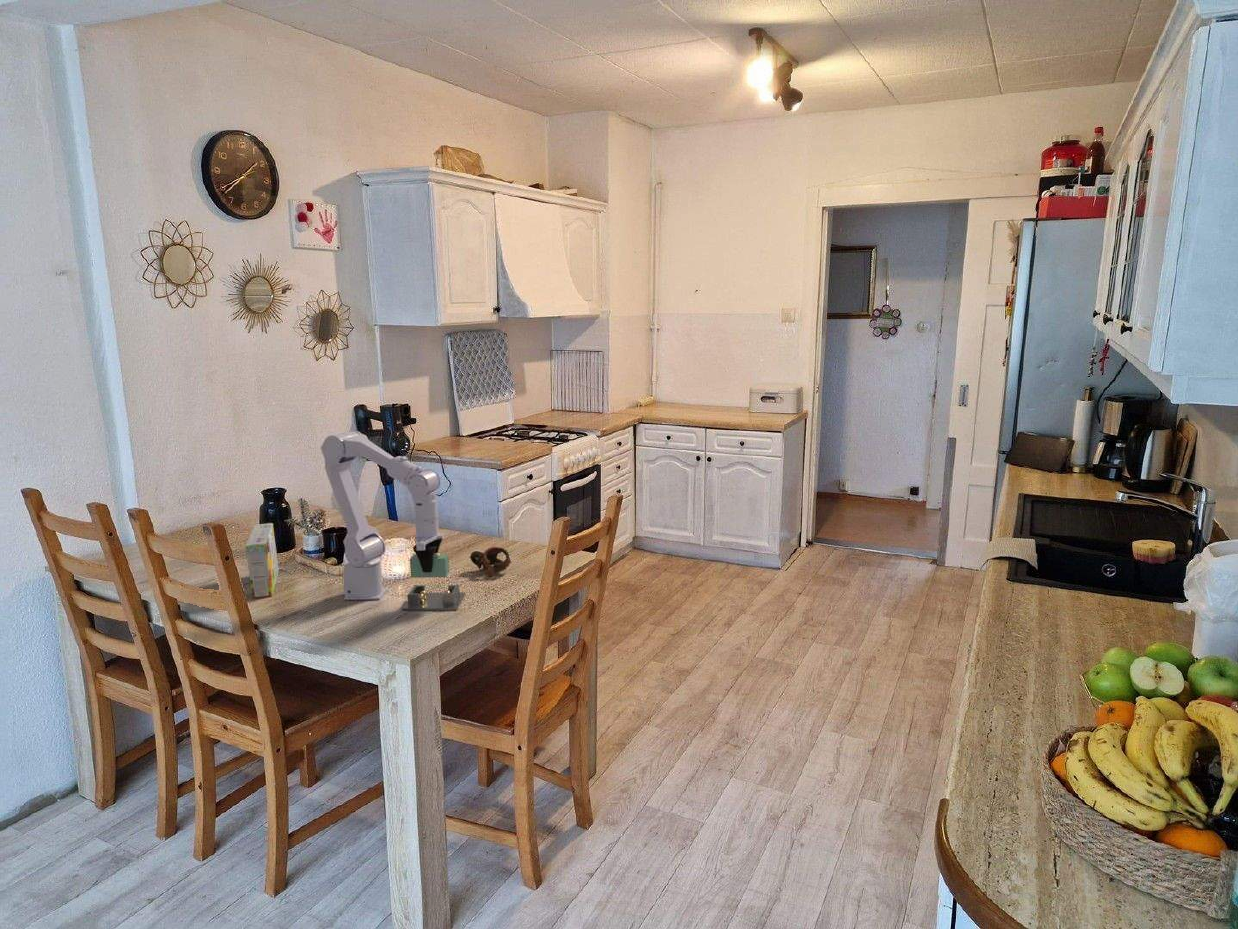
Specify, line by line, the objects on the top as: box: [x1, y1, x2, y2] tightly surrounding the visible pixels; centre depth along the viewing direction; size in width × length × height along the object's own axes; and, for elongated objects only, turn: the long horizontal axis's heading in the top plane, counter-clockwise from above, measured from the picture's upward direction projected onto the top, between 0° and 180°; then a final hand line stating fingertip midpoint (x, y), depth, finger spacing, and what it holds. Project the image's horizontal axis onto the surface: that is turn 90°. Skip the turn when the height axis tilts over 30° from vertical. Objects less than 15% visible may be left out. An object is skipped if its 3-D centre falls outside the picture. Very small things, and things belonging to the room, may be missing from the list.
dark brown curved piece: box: [469, 546, 512, 578], centre depth 232 cm, size 12×10×8 cm
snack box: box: [245, 522, 280, 599], centre depth 223 cm, size 21×6×15 cm, turn 18°
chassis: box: [401, 584, 466, 612], centre depth 209 cm, size 14×11×4 cm
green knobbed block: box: [409, 552, 450, 579], centre depth 207 cm, size 9×4×6 cm, turn 90°
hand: (429, 569), depth 207 cm, fingers closed on green knobbed block, 4 cm apart
